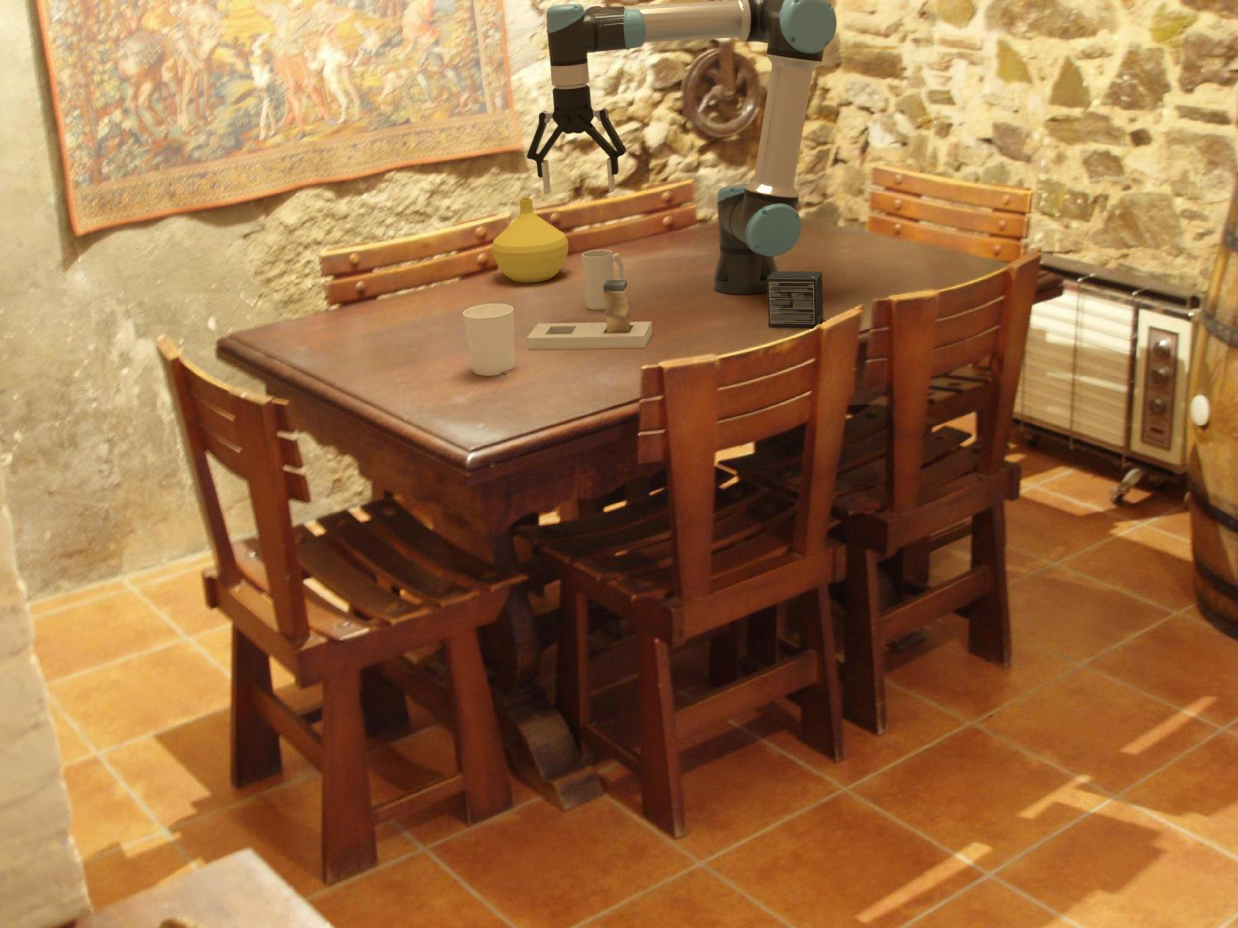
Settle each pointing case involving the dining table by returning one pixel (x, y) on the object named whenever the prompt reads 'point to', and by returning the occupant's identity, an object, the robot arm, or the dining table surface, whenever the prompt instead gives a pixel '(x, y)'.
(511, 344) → the beige cup
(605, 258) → the mug
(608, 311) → the plug
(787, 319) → the small box
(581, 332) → the panel
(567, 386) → the dining table surface
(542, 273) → the vase
